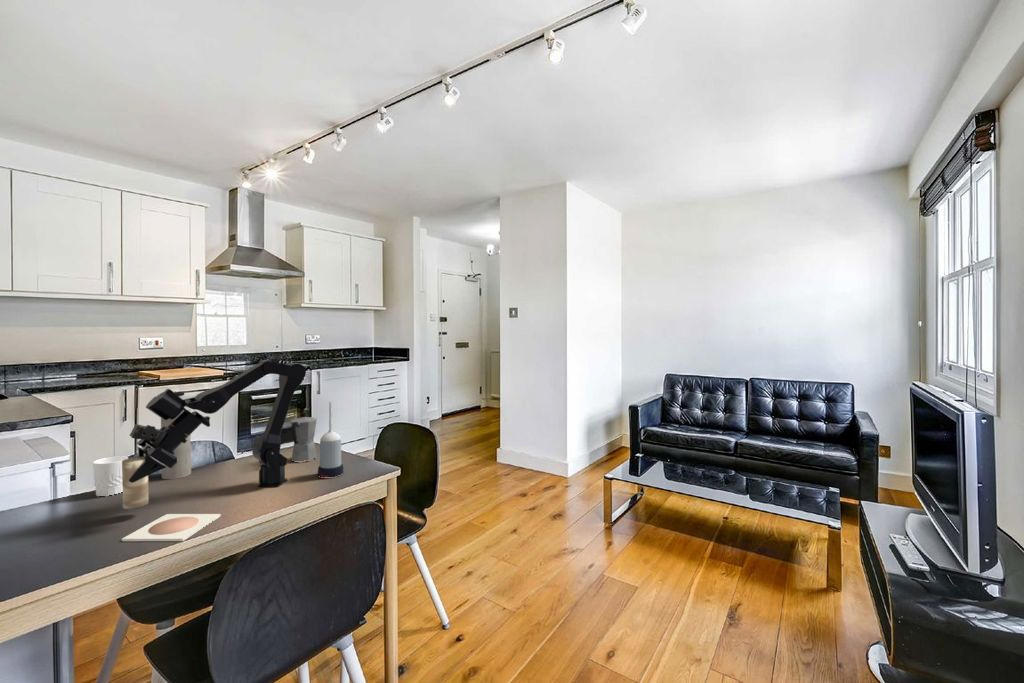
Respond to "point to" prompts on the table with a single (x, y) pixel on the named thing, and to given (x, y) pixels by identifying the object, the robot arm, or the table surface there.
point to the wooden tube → (134, 484)
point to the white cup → (108, 475)
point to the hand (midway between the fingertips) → (128, 479)
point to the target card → (172, 527)
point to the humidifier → (330, 452)
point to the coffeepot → (303, 438)
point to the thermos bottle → (179, 453)
